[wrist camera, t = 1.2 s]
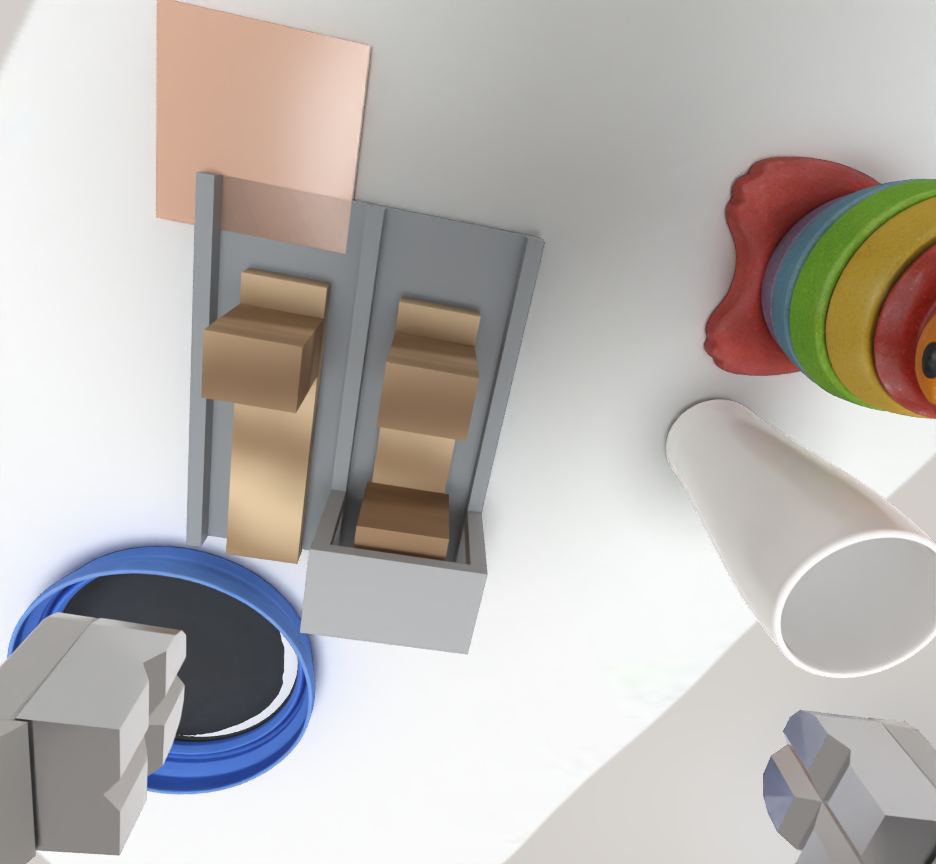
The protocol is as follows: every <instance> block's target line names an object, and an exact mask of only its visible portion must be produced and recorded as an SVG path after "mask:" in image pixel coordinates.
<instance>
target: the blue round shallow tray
mask: <svg viewBox="0 0 936 864" xmlns="http://www.w3.org/2000/svg"><path fill="white" fill-rule="evenodd" d="M57 612H60V613H66V614H73V615H80V616H86V617H93V618H97V619H100V618H105V619H111V620H118V621H124V622H131V623H137V624H144V625H150V626H157V627H164V628H170V629H177V630H182V631H183V632H184V633H185V634H186V658H185V660H184V661H183V663H182V665H181V667H180V669H179V671H178V673H177V676H178V677H179V678H180V680H181V681H182V682H183V684H184V685H185V687H184V702H183V707H182V713H181V719H180V722H179V725H178V729H177V732H176V735H175V738H174V741H173V744H172V747H171V749H170V751H169V753H168V755H167V758H166V760H165V762H164V764H163V766H162V767H161V768H159V769H158V770H156V771H155V772H153V773H152V774H151V775H149V776H148V777H147V791H151V792H157V793H166V794H197V793H208V792H213V791H219V790H223V789H227V788H231V787H234V786H237V785H241V784H243V783H245V782H248V781H250V780H252V779H254V778H256V777H258V776H260V775H262V774H263V773H265V772H267V771H268V770H270V769H272V768H273V767H274V766H275V765H277V764H278V763H280V762H281V761H282V760H283V759H284V758H285V757H286V756H288V755H289V753H290V752H291V751H292V750H293V749H294V748H295V747H296V745H297V744H298V743H299V741H300V740H301V738H302V736H303V734H304V733H305V730H306V728H307V726H308V723H309V719H310V716H311V713H312V710H313V705H314V699H315V679H314V669H313V663H312V652H311V646H310V642H309V639H308V636H307V633H300V627H301V620H300V618H299V617H298V615H297V614H296V612H295V611H294V609H293V608H292V607H291V605H290V604H289V603H288V602H287V601H286V599H285V598H284V597H283V596H282V595H281V594H280V593H279V592H278V591H277V590H276V589H274V588H273V587H272V586H271V585H270V584H269V583H267V582H266V581H264V580H263V579H262V578H260V577H259V576H257V575H255V574H254V573H252V572H251V571H249V570H247V569H245V568H243V567H241V566H239V565H237V564H235V563H233V562H230V561H228V560H226V559H223V558H220V557H217V556H214V555H211V554H208V553H204V552H200V551H195V550H190V549H184V548H176V547H141V548H133V549H127V550H122V551H118V552H115V553H111V554H108V555H105V556H103V557H100V558H98V559H95V560H93V561H91V562H90V563H88V564H86V565H85V566H83V567H81V568H80V569H78V570H77V571H75V572H73V573H71V574H69V575H68V576H66V577H64V578H63V579H61V580H60V581H58V582H57V583H55V584H53V585H52V586H50V587H49V588H48V589H46V590H45V591H44V592H43V593H42V594H41V595H39V596H38V597H37V598H36V600H35V601H34V602H33V603H32V604H31V605H30V607H29V608H28V609H27V610H26V612H25V613H24V614H23V616H22V617H21V619H20V620H19V622H18V624H17V625H16V627H15V629H14V632H13V634H12V637H11V640H10V644H9V648H8V655H7V659H8V658H9V656H10V655H11V654H12V653H13V652H14V651H15V650H16V649H17V648H18V647H19V646H20V644H21V643H22V642H23V641H24V640H25V639H26V638H27V637H28V636H29V635H30V634H31V632H32V631H33V630H34V629H35V628H36V627H37V626H38V625H39V624H40V623H41V622H42V620H43V619H45V618H46V617H48V616H50V615H52V614H54V613H57ZM279 631H280V632H281V633H282V634H283V636H284V637H285V638H286V639H287V641H288V642H289V643H290V645H291V646H292V648H293V649H294V651H295V653H296V655H297V658H298V670H297V676H296V679H295V682H294V685H293V687H292V690H291V692H290V694H289V695H288V697H287V698H286V699H285V701H284V702H283V703H282V704H281V706H280V707H279V708H278V709H277V710H276V711H275V712H274V713H272V714H271V715H270V716H269V717H267V718H266V719H264V720H263V721H261V722H260V723H258V724H256V725H254V726H252V727H250V728H247V729H244V730H242V731H239V732H234V733H231V734H227V735H220V736H211V737H194V736H190V737H188V736H189V735H197V734H199V735H200V734H206V733H213V732H217V731H220V730H223V729H226V728H229V727H232V726H235V725H238V724H240V723H243V722H244V721H246V720H248V719H250V718H252V717H254V716H256V715H258V714H260V713H261V712H262V711H263V710H264V709H266V708H267V707H268V706H269V705H270V704H271V703H272V702H273V700H274V699H275V698H276V697H277V695H278V694H279V692H280V689H281V687H282V684H283V680H282V676H283V673H284V646H283V643H282V641H281V635H280V632H279ZM180 735H181V736H180ZM183 735H188V736H183Z"/></svg>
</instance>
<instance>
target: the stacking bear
mask: <svg viewBox="0 0 936 864" xmlns="http://www.w3.org/2000/svg"><path fill="white" fill-rule="evenodd" d="M727 222H728V225H729V228H730V230H731V233H732V235H733V238H734V241H735V246H736V254H737V265H736V272H735V276H734V280H733V283H732V285H731V288H730V290H729V293H728V295H727V296H726V297H725V299H724V300H723V302H722V303H721V304H720V306H719V307H718V308H717V309H716V311H715V312H714V313H713V314H712V316H711V318H710V320H709V322H708V324H707V327H706V333H707V340H706V342H705V350H706V352H707V354H708V355H709V356H711V357H713V358H714V361H715V363H716V365H717V366H718V367H720V368H721V369H723V370H725V371H727V372H730V373H734V374H741V375H754V376H768V375H780V374H787V373H793V372H798V371H801V372H802V373H804V374H805V375H806V376H807V377H808V378H809V379H810V380H812V381H813V382H815V383H816V384H817V385H819V386H820V387H821V388H822V389H824V390H825V391H827V392H829V393H830V394H832V395H834V396H837V397H839V398H841V399H844V400H846V401H849V402H851V403H854V404H857V405H860V406H864V407H867V408H871V409H876V410H881V411H888V412H892V413H896V414H901V415H906V416H912V417H918V418H930V419H936V179H911V180H904V181H897V182H890V183H885V184H880V183H879V182H877V181H876V180H874V179H873V178H871V177H869V176H867V175H866V174H864V173H862V172H860V171H857V170H855V169H853V168H850V167H848V166H845V165H842V164H839V163H835V162H831V161H826V160H821V159H814V158H805V157H775V158H769V159H764V160H761V161H759V162H757V163H756V164H754V165H753V166H752V167H751V169H750V171H749V173H748V174H746V175H744V176H742V177H740V178H739V179H738V180H737V181H736V183H735V185H734V187H733V191H732V198H731V200H730V202H729V203H728V207H727Z"/></svg>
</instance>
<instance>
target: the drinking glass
mask: <svg viewBox="0 0 936 864" xmlns="http://www.w3.org/2000/svg"><path fill="white" fill-rule="evenodd" d="M666 455H667V459H668V462H669V465H670V467H671V469H672V470H673V472H674V473H675V475H676V476H677V478H678V479H679V480H680V482H681V484H682V485H683V487H684V489H685V491H686V493H687V495H688V497H689V499H690V501H691V503H692V505H693V506H694V508H695V510H696V512H697V514H698V516H699V518H700V520H701V522H702V524H703V526H704V528H705V530H706V532H707V534H708V536H709V538H710V540H711V542H712V544H713V546H714V548H715V550H716V552H717V554H718V556H719V558H720V560H721V562H722V564H723V565H724V567H725V569H726V571H727V573H728V575H729V577H730V578H731V580H732V582H733V584H734V585H735V587H736V589H737V590H738V592H739V594H740V595H741V597H742V598H743V600H744V601H745V603H746V605H747V606H748V608H749V609H750V611H751V612H752V613H753V615H754V616H755V618H756V619H757V621H758V622H759V623H760V625H761V626H762V627H763V629H764V630H765V631H766V633H767V634H768V635H769V637H770V638H771V639H772V640H773V642H774V643H775V644H776V646H777V647H778V648H779V650H780V651H781V653H782V654H783V655H784V656H785V657H786V658H787V659H788V660H789V661H790V662H792V663H793V664H794V665H796V666H797V667H799V668H801V669H803V670H805V671H807V672H809V673H812V674H815V675H819V676H824V677H832V678H851V677H860V676H865V675H869V674H873V673H877V672H880V671H883V670H886V669H888V668H890V667H893V666H895V665H897V664H899V663H901V662H903V661H905V660H907V659H908V658H910V657H911V656H913V655H914V654H916V653H917V652H918V651H920V650H921V649H922V648H923V647H925V646H926V645H927V644H928V643H929V642H930V641H931V640H932V639H933V638H934V637H935V636H936V542H935V541H934V540H933V539H931V538H930V537H929V536H928V535H927V534H926V533H925V532H924V531H923V530H921V529H920V528H919V527H918V526H917V525H916V524H915V523H914V522H912V521H911V520H910V519H909V518H908V517H907V516H905V515H904V514H903V513H902V512H901V511H899V510H898V509H897V508H896V507H895V506H893V505H892V504H891V503H890V502H888V501H887V500H886V499H884V498H883V497H882V496H880V495H879V494H878V493H876V492H875V491H874V490H872V489H871V488H869V487H868V486H866V485H865V484H863V483H862V482H860V481H859V480H857V479H856V478H854V477H853V476H851V475H850V474H848V473H847V472H845V471H843V470H842V469H840V468H839V467H837V466H835V465H834V464H832V463H830V462H829V461H827V460H826V459H824V458H822V457H821V456H819V455H817V454H816V453H814V452H813V451H811V450H809V449H808V448H806V447H804V446H803V445H801V444H800V443H798V442H796V441H795V440H793V439H792V438H790V437H788V436H787V435H785V434H784V433H782V432H780V431H779V430H777V429H776V428H774V427H773V426H771V425H769V424H768V423H766V422H765V421H763V420H762V419H760V418H759V417H758V416H757V415H755V414H754V413H753V412H752V411H751V410H749V409H748V408H747V407H745V406H743V405H741V404H739V403H737V402H734V401H731V400H724V399H715V400H708V401H704V402H701V403H699V404H696V405H694V406H692V407H691V408H689V409H688V410H686V411H685V412H684V413H683V414H682V415H681V416H680V417H679V418H678V419H677V420H676V421H675V423H674V424H673V426H672V427H671V429H670V432H669V434H668V437H667V441H666Z"/></svg>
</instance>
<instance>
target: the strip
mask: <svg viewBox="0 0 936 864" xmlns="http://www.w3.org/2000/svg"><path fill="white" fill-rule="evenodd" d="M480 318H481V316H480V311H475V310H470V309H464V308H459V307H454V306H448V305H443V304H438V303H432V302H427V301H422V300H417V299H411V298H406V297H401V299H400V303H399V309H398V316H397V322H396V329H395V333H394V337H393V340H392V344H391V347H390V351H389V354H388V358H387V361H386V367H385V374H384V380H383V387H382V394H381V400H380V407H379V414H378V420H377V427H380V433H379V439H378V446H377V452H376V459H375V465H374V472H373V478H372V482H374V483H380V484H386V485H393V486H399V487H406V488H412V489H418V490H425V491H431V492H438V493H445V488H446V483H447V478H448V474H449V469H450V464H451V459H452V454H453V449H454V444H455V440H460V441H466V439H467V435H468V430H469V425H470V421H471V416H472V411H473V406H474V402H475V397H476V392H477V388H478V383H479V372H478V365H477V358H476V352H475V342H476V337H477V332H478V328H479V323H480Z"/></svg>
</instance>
